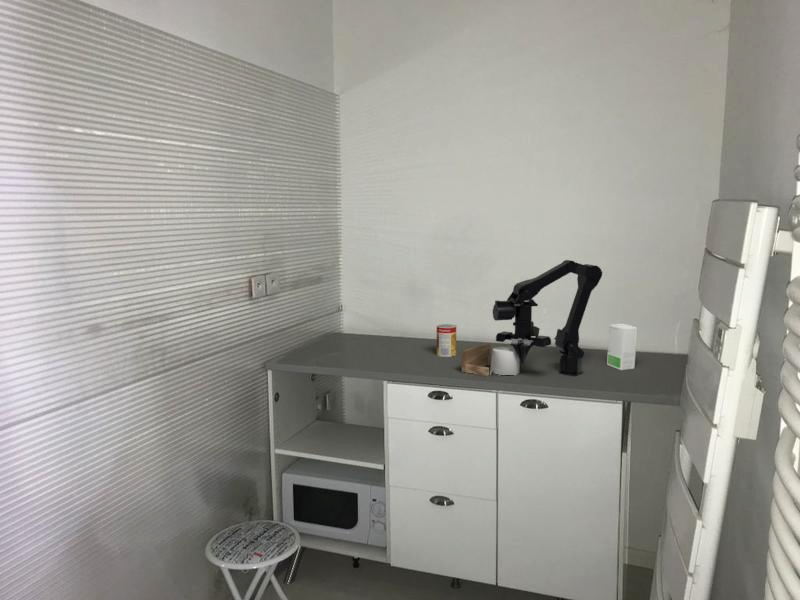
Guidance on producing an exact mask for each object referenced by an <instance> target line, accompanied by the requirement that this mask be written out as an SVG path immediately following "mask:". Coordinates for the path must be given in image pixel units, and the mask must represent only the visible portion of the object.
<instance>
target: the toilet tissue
mask: <svg viewBox="0 0 800 600" xmlns="http://www.w3.org/2000/svg"><path fill="white" fill-rule="evenodd" d="M491 356H492V358H491V365H490V367H489V376H491V375H492V373H493V374H494V373H495V374H499V375H498V376H500V375H514V376H518V375H519V374H520V365H521V361H520V359H519V357H518V355H517V353H516V351H515V349H514V347H513V346H497V347H496V346H495V347H493V348H492V351H491ZM518 373H519V374H518ZM495 374H494V375H495ZM517 374H518V375H517Z"/></svg>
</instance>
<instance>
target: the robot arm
mask: <svg viewBox="0 0 800 600" xmlns="http://www.w3.org/2000/svg"><path fill="white" fill-rule="evenodd" d="M570 273H572V274H574V275H577V277H576V278H577V279H576V281H577V289H576V293H575V295H574V298H573V301H572V304H571V305H572V306H571V307H570V311H569V314H568V316H567V319H566V322H565V325H564V327H563V328H562V329H560V328H557V331H556V334H555V337H554V338H553V339H554V345H555V346H556V348H557V350H559V353H560V354H561V357H560V359H559V371H558V374H561V375H562V374H563V375H568V376H569V375H570V376H575V377H576V376H578V375H580V374H582V373H584V371H583V370H582V359H583V358H584V356H585V351H584V350H583V349H582V348H581V347H580V346H579V342H580V333H579V332H580V331H579V330H580V326H581V325H582V324H581V323H582V322H583V321H582V320H583V317H584V315H585V311H586V310H587V306H588V302H589V300H590V298H591V297H590V296H591V294H592V291H594V290H595V288H596V287H597V286H598V284H599V282H600V281H601V279H602V276H603V270H602V268H601V267H600V266H599V265H594V264H587V263H584V264H582V263H579V262H577V261H576V262H575V261H574V260H571V259H565V260H563V261H562V262H561V263H558V264H557V265H555V266H554V267H551V268H550V269H548V270H546V271H545V272H543V273H541V274H539V275H538V276H536V277H534V278H533V277H532V278H529V279H526V280H523V281H519V282H517V283H515V284H514V286H513V288H512V292H511V293H510V295H509V296H508V297H507V299H506V300H495V301H494V304H493V309H492V317H493V319H494V321H511V320H513V319H514V322H512V326H514V333H513V332H511V331H506V330H505V331H501V332H498V333H496V336H495V341H496V342H499V343H500V342H501V343H504V342H505V341H506V340H507V341H511V343H510V347H514V349H515V351H516V353H517V355H518V357H519V359H520V364H525V362H526V359H527V357H528V354H529V352H530V350H531V348H532V347H534V346H535V347H539V348H545V347H547V346H551V345H552V338H551V337H550V336H546V335H540V330H541V329H540V327H538V326H536V325H534V324H535V323H534V321H533V320H532V318H533V315H532V313H533V311H532V310H533V307H538V306H539V304H538V303H536V301H535V300H534V299H533V298H534V297H536V296H538V294H539V293H540V292H541V290H542V289H544V288H545V287H547V286H549V285H551V284H553V283H555V282H556V281H558V280H559V279H562V278H564V277H565V276H567V275H569V274H570Z"/></svg>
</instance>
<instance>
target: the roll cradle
mask: <svg viewBox="0 0 800 600" xmlns="http://www.w3.org/2000/svg"><path fill="white" fill-rule="evenodd" d="M491 358H492V355H491V343H489V342H484V343H481V344H479V345H475V346H472V347H468V348H465V349H463V350H461V373H462V372H468V373H474V374H479V375H486V376H487V375H489V376H490V367H486V366H491ZM485 365H486V366H485ZM482 366H483V367H482ZM468 373H467V374H468ZM479 375H478V376H479Z"/></svg>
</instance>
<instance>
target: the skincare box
mask: <svg viewBox="0 0 800 600" xmlns="http://www.w3.org/2000/svg"><path fill="white" fill-rule="evenodd" d="M608 327H609V328H608V342H607V360H606V365H607V366H609V367H611V368H614V369H617V370H619V371H626V370H633V369H635V366H636V354H637V353H636V352H637V338H638V327H636V326H634V325H630V324H626V323H622V322H621V323H613V324H609V326H608Z"/></svg>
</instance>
